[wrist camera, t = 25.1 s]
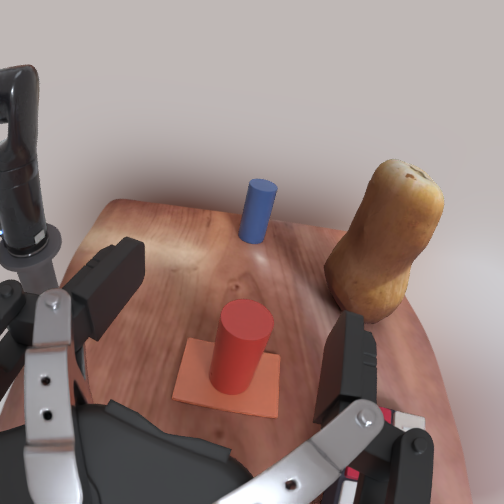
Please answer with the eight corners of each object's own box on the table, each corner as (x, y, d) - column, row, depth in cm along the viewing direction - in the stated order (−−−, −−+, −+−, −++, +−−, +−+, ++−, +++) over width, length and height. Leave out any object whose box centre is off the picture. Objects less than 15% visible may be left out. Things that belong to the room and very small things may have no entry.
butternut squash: (398, 318, 50) (471, 194, 35) (353, 351, 42) (443, 201, 27) (345, 270, 58) (398, 148, 43) (295, 290, 50) (349, 143, 36)
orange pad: (171, 399, 31) (171, 397, 31) (187, 339, 39) (188, 336, 38) (276, 418, 32) (277, 416, 32) (278, 357, 39) (280, 354, 39)
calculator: (428, 414, 30) (424, 521, 18) (410, 429, 33) (401, 529, 20) (355, 395, 32) (333, 514, 20) (340, 411, 34) (315, 519, 22)
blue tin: (236, 240, 58) (248, 187, 52) (239, 226, 62) (250, 176, 56) (263, 246, 58) (277, 194, 52) (264, 231, 63) (277, 182, 56)
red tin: (205, 390, 33) (216, 333, 26) (212, 356, 37) (224, 294, 30) (248, 398, 33) (272, 344, 27) (252, 363, 37) (274, 304, 31)
